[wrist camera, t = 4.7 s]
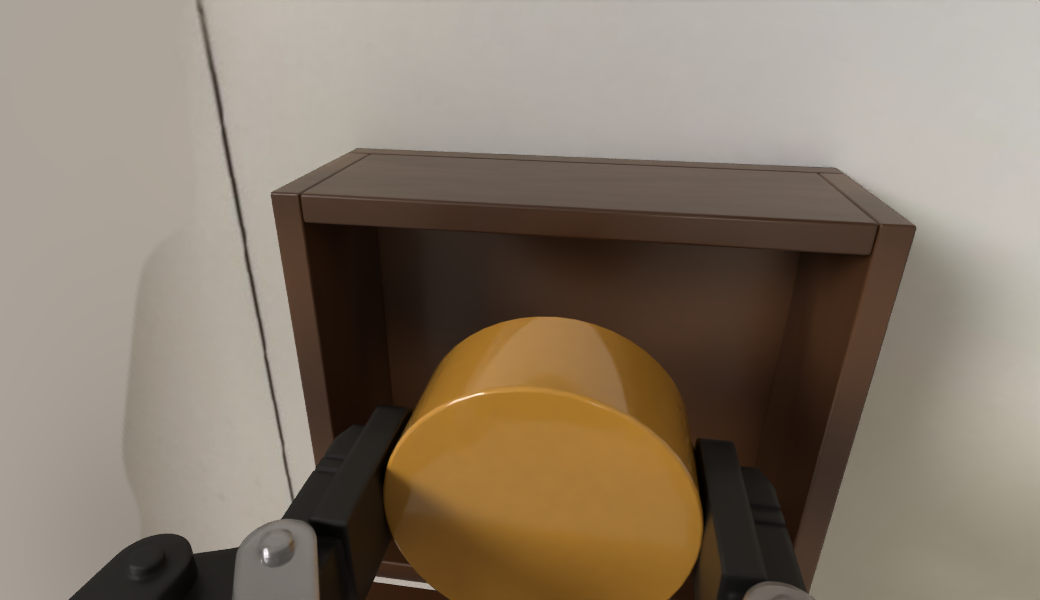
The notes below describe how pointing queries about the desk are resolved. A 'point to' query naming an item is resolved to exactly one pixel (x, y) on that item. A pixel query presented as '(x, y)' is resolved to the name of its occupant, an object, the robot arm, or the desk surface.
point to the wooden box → (604, 292)
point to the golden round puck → (547, 470)
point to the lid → (401, 593)
